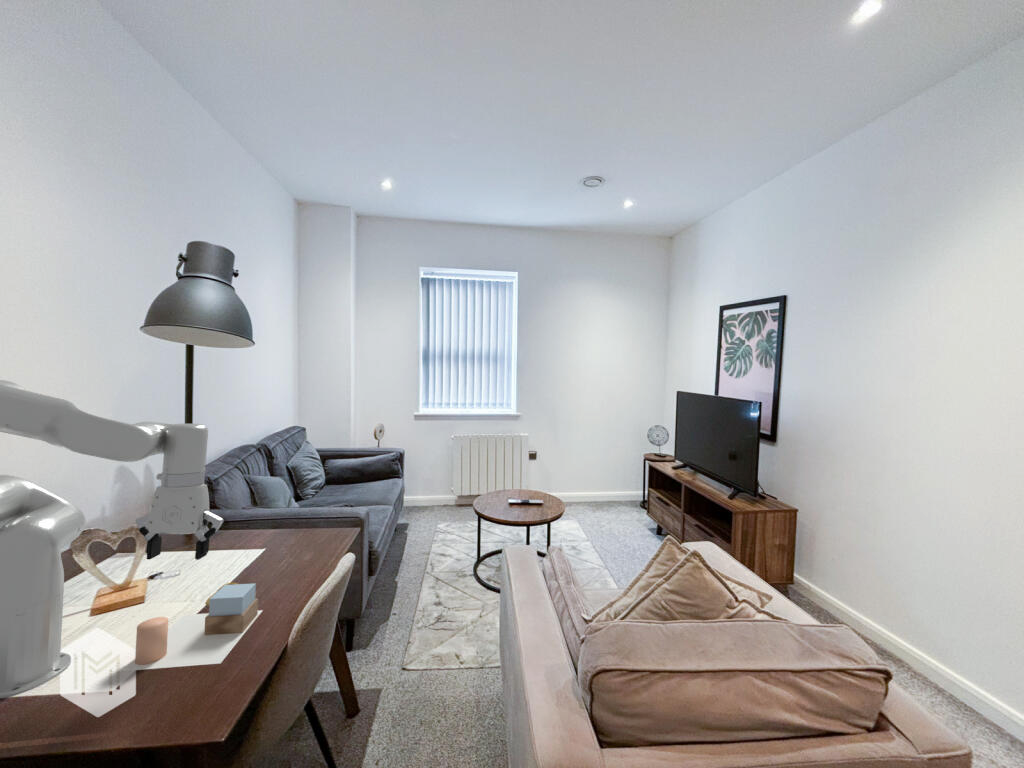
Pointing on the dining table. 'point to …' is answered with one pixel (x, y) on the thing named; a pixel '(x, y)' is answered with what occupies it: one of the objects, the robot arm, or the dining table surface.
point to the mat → (192, 645)
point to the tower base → (231, 621)
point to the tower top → (232, 599)
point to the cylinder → (151, 640)
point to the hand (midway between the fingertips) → (177, 557)
